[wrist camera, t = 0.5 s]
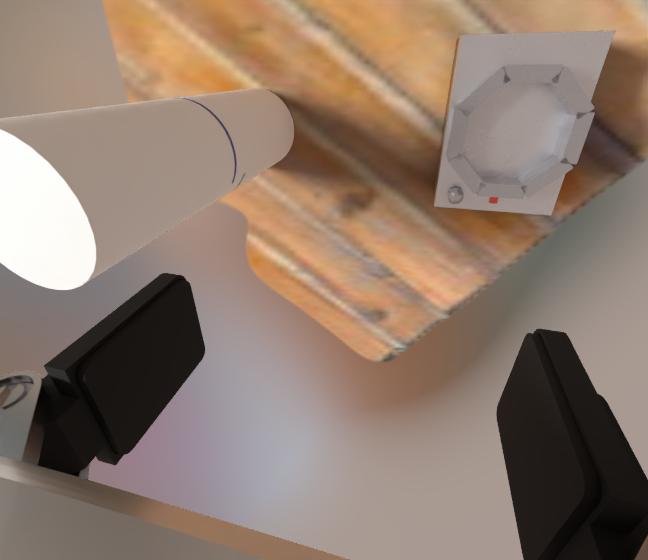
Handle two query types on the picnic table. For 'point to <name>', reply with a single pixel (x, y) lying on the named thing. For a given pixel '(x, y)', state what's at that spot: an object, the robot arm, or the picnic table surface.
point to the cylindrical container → (125, 176)
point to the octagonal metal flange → (516, 118)
